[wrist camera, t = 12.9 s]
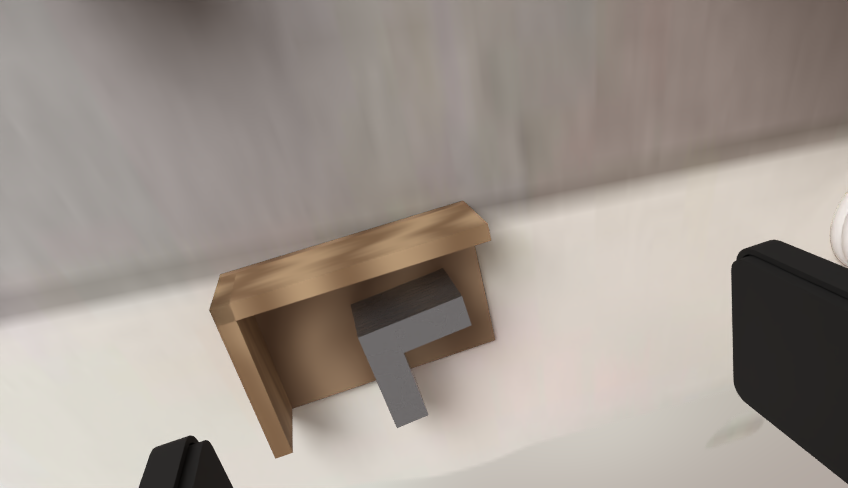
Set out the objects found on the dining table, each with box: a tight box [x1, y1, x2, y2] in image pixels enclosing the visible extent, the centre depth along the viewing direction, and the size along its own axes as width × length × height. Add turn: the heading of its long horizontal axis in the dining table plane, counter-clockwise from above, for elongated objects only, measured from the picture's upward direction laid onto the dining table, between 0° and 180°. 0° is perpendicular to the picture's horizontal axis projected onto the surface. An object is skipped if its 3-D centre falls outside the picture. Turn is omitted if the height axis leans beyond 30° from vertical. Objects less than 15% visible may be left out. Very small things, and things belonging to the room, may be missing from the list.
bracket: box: [351, 268, 471, 428], centre depth 40 cm, size 8×7×5 cm
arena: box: [209, 201, 495, 459], centre depth 39 cm, size 18×12×6 cm, turn 104°
